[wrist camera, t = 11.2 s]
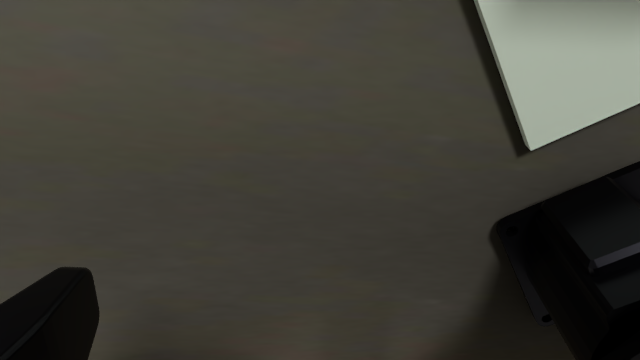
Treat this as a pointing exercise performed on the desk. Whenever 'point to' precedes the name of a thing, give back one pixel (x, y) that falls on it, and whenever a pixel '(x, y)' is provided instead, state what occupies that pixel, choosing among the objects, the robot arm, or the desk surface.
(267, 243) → the desk surface
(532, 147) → the sage mat
